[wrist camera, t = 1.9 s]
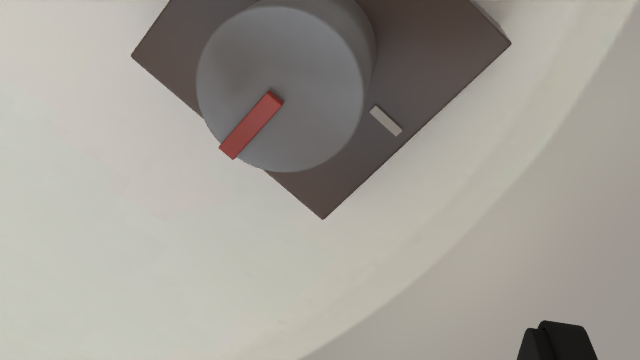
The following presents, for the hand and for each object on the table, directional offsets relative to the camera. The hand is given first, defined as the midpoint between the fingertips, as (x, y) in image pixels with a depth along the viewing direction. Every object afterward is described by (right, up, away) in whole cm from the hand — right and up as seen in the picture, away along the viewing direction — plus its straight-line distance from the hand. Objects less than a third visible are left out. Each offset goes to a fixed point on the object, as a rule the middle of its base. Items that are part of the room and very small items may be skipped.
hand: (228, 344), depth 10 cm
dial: (+1, +7, +12) cm, 14 cm away
